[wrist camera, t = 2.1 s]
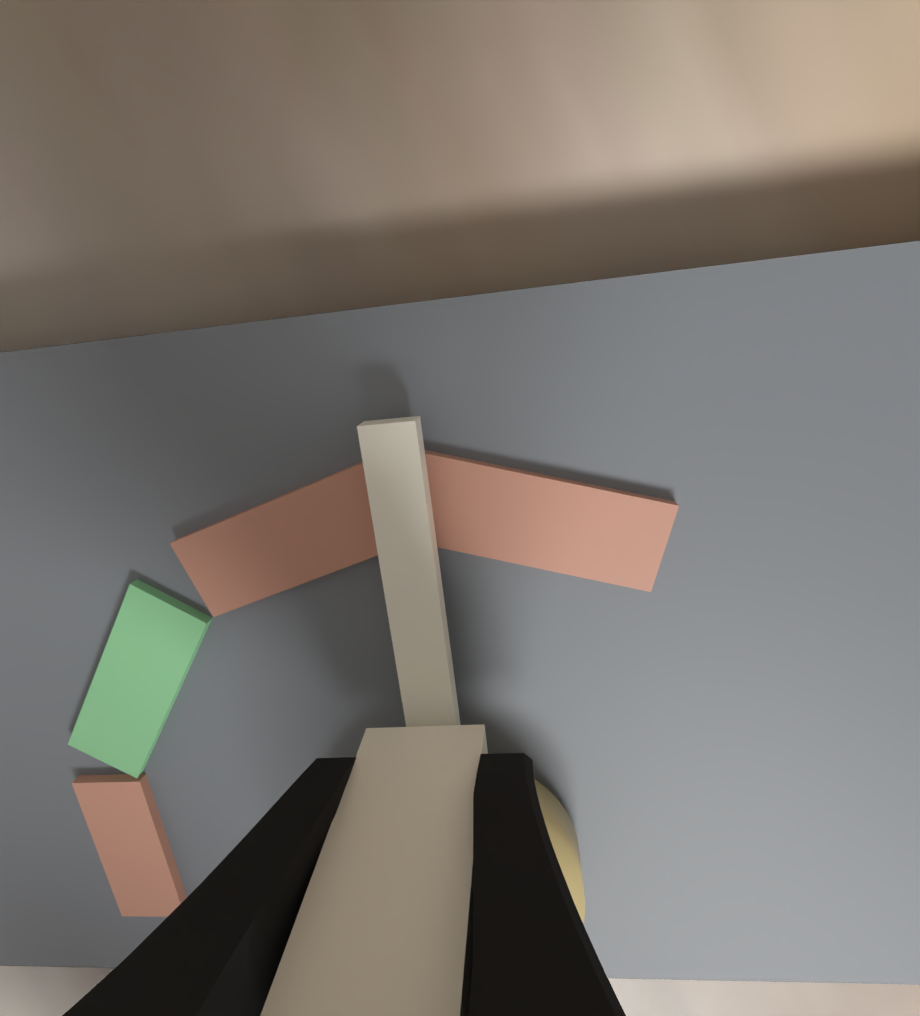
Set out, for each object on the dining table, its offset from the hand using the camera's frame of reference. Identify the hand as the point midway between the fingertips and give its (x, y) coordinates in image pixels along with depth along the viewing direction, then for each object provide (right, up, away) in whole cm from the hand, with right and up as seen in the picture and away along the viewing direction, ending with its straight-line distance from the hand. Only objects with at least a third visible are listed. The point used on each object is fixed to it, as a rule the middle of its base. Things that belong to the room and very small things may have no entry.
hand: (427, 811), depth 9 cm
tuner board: (0, +1, +3) cm, 3 cm away
